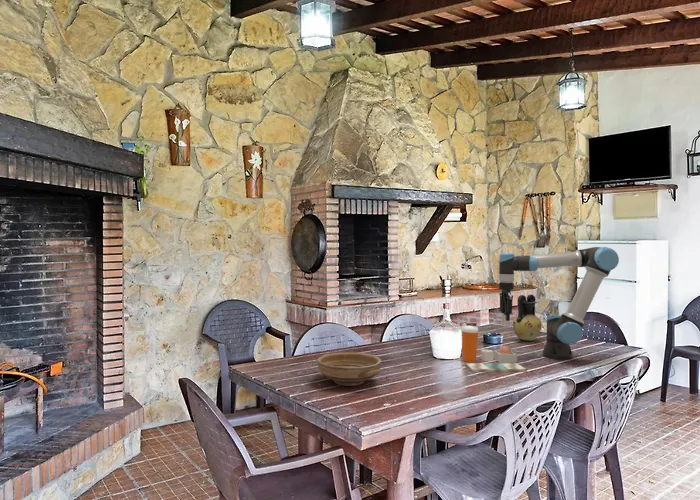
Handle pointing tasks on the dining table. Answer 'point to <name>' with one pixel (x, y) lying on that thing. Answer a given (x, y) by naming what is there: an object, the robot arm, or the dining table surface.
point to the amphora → (526, 320)
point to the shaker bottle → (469, 342)
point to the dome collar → (505, 357)
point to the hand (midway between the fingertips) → (505, 326)
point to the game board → (495, 367)
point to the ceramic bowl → (349, 367)
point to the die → (487, 355)
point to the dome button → (505, 350)
